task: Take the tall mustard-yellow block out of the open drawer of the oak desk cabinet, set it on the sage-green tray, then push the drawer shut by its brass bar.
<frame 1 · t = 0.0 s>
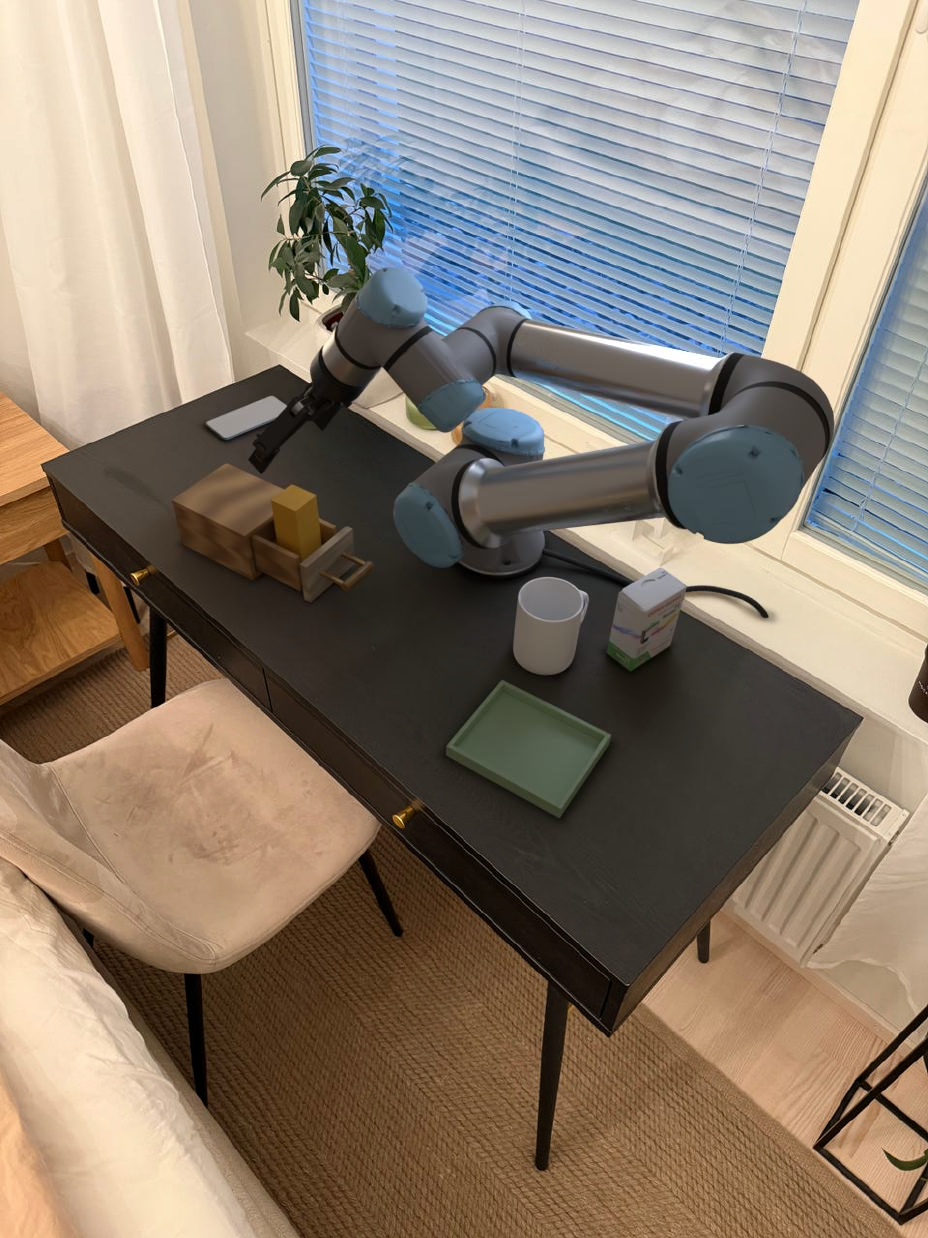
hand: (287, 443, 132), 15 cm above the table, tool tilted 35°, fingers open, 13 cm apart
cabinet: (243, 542, 139), on the table
tray: (528, 750, 113), on the table
block: (302, 561, 133), point 2 cm above the table, touching drawer
mug: (552, 650, 125), on the table
ink box: (638, 650, 126), on the table
smartphone: (250, 419, 164), on the table
drawer: (310, 555, 131), point 4 cm above the table, slide at 9.5 cm, touching block
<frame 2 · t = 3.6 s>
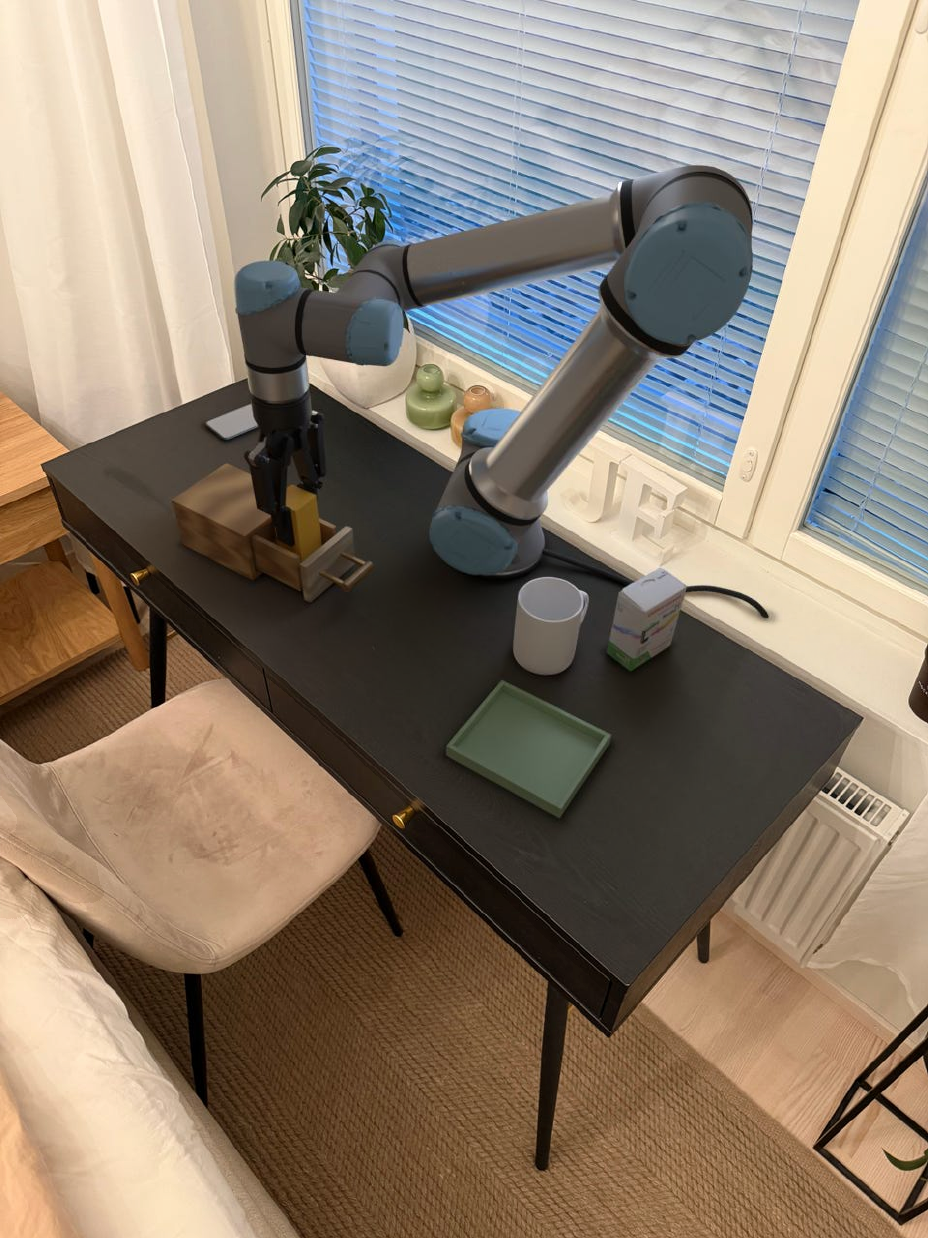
hand: (298, 532, 129), 8 cm above the table, tool pointing down, fingers closed on block, 4 cm apart
block: (302, 561, 133), point 2 cm above the table, touching drawer, gripper
everything else where it was.
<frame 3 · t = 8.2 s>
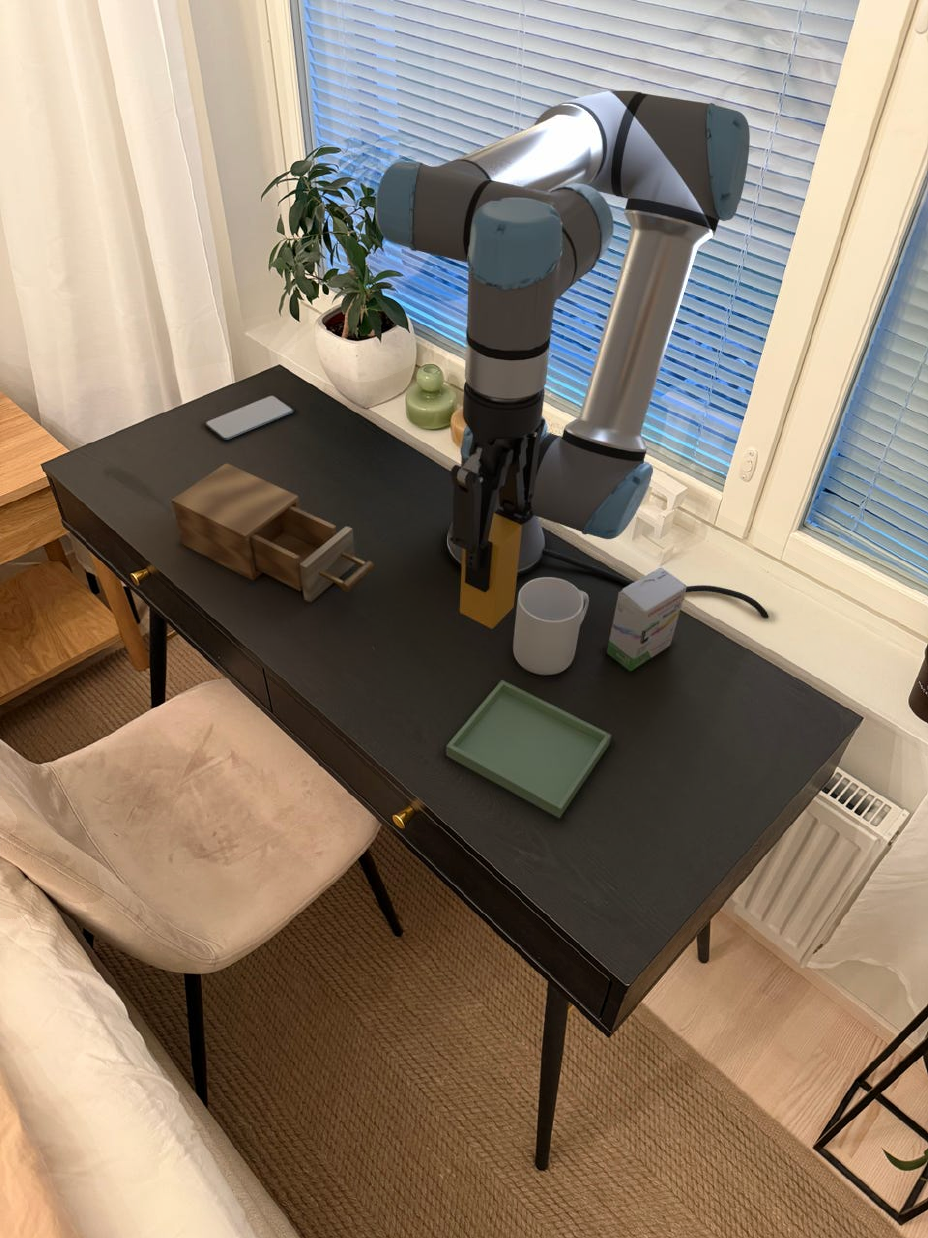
hand: (490, 572, 99), 25 cm above the table, tool pointing down, fingers closed on block, 4 cm apart
block: (486, 609, 103), point 19 cm above the table, touching gripper
drawer: (310, 555, 131), point 4 cm above the table, slide at 9.5 cm
everything else where it was.
when the fingers open (6 cm above the table, at t = 13.2 s): block stays where it is, resting on tray.
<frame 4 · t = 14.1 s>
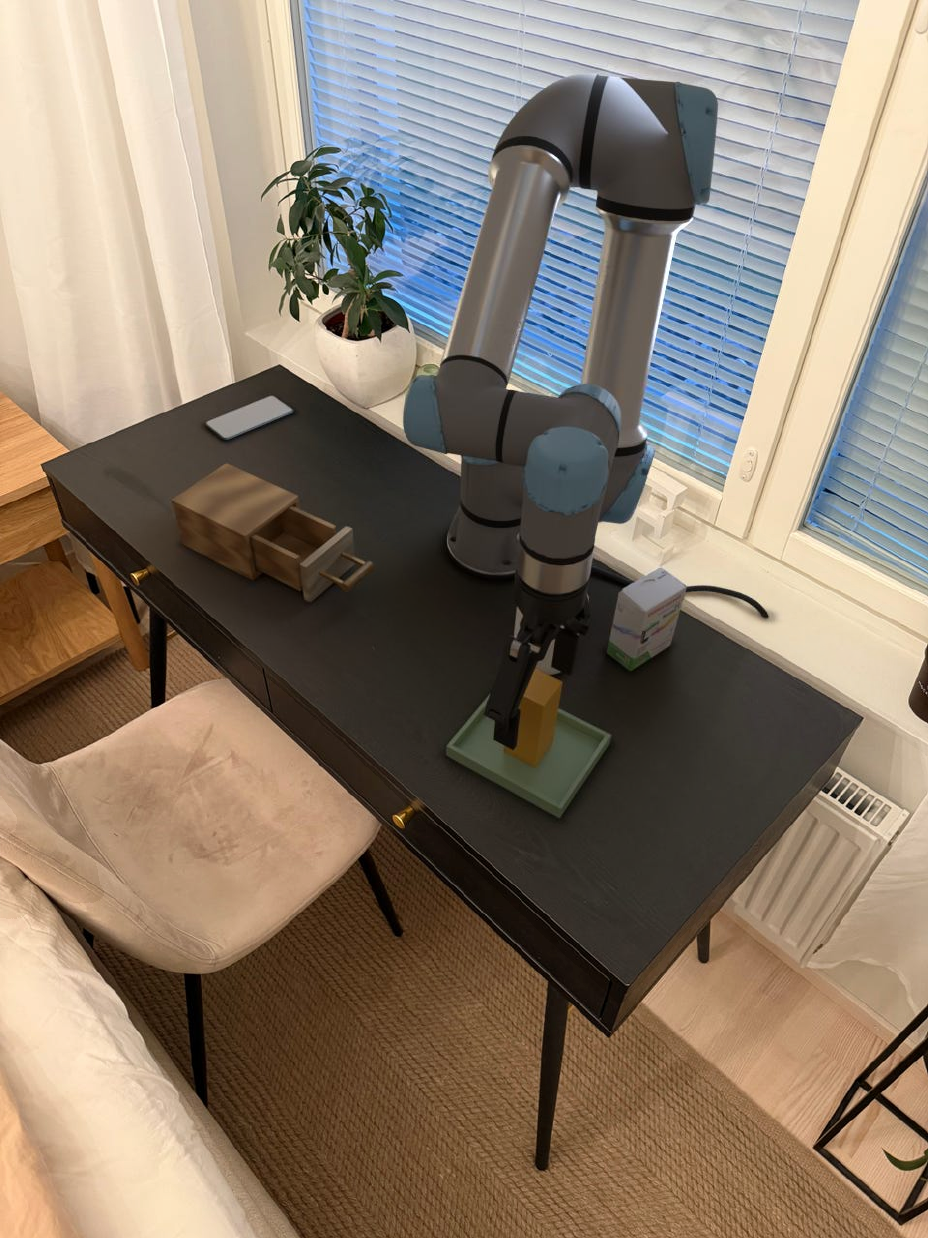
hand: (534, 705, 106), 9 cm above the table, tool pointing down, fingers open, 13 cm apart
block: (528, 748, 112), resting on tray
everything else where it was.
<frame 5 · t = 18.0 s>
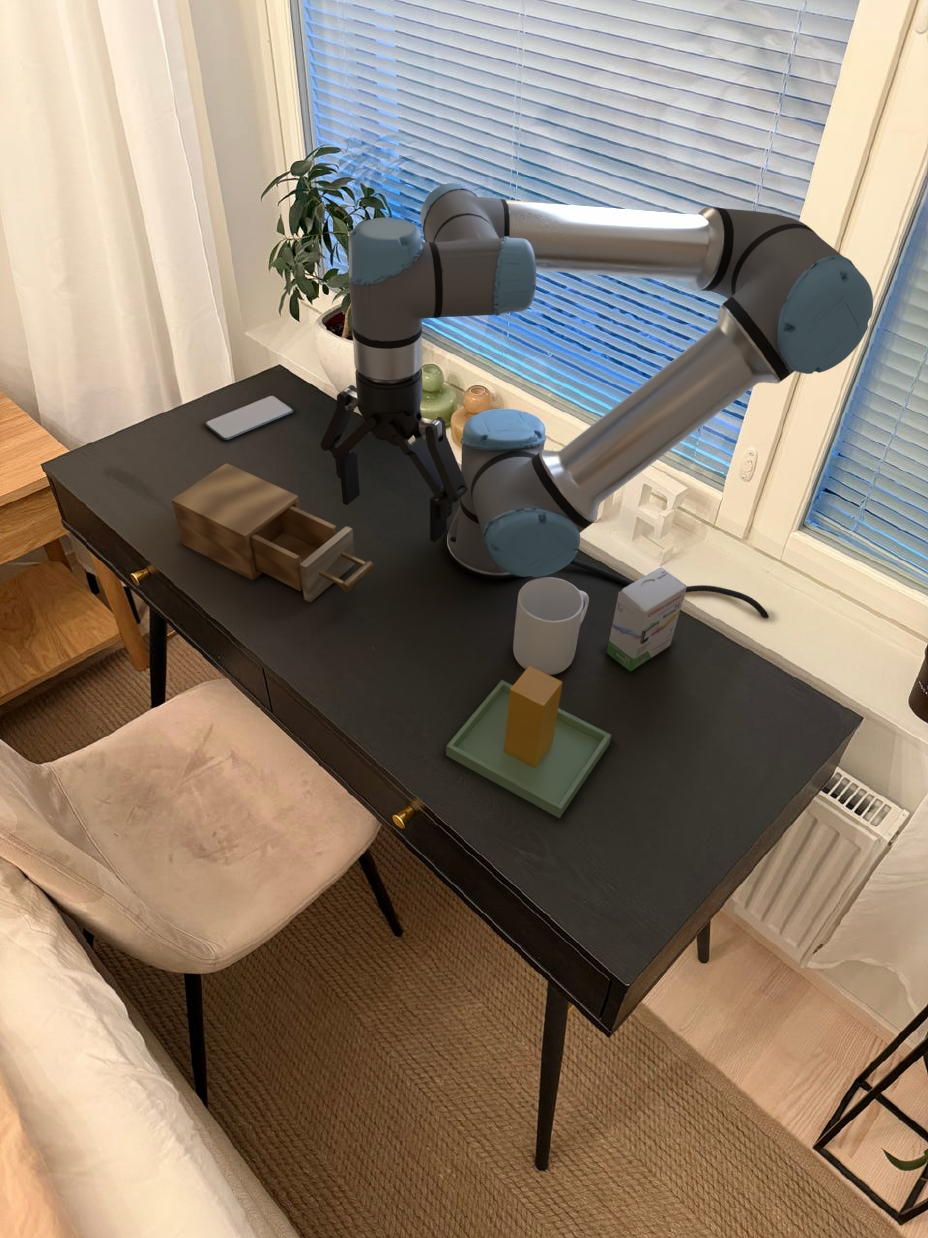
hand: (393, 517, 115), 19 cm above the table, tool pointing down, fingers open, 13 cm apart
nothing on the table moved.
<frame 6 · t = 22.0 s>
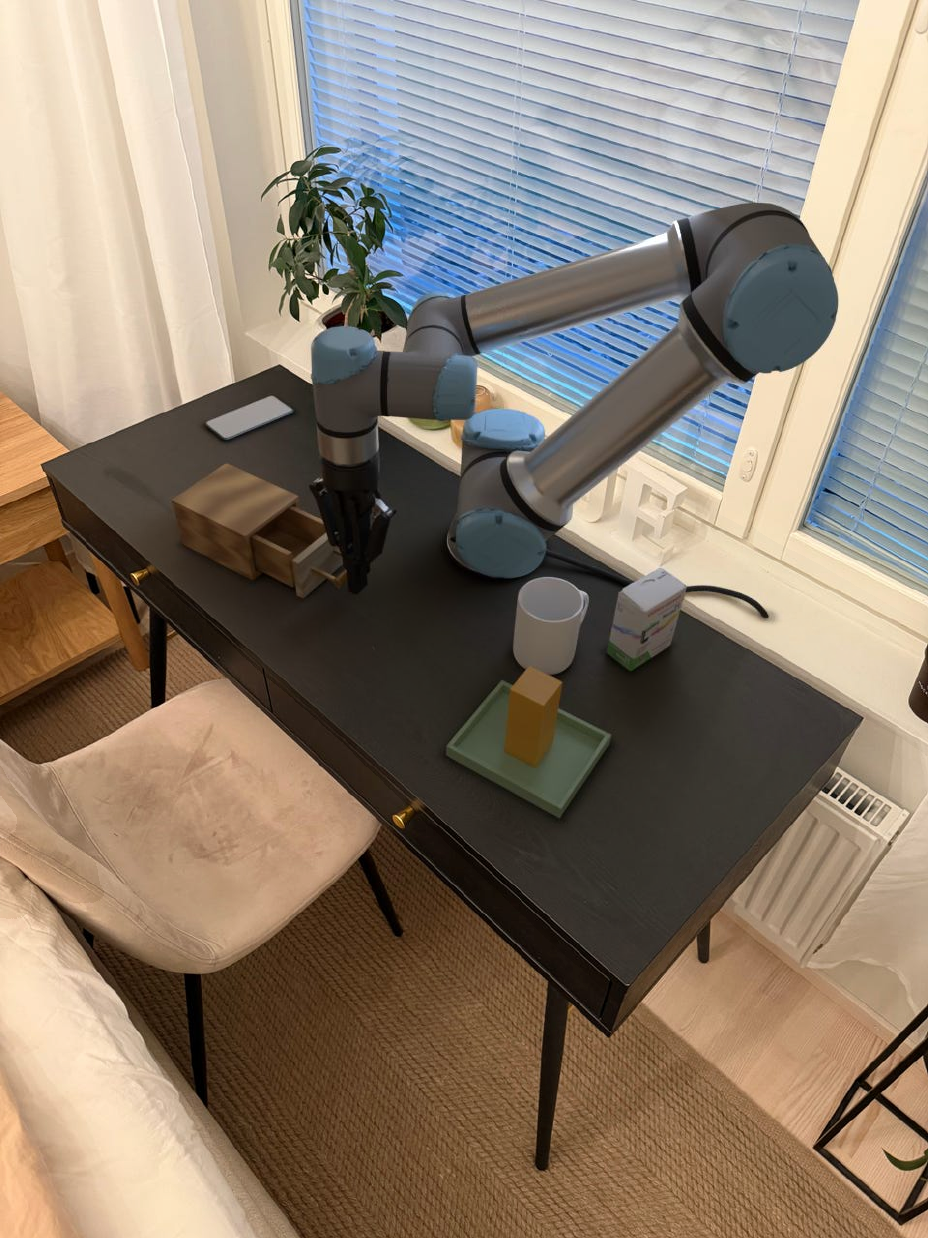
hand: (358, 587, 129), 2 cm above the table, tool pointing down, fingers closed
drawer: (302, 551, 132), point 4 cm above the table, slide at 8.1 cm, touching gripper
everything else where it was.
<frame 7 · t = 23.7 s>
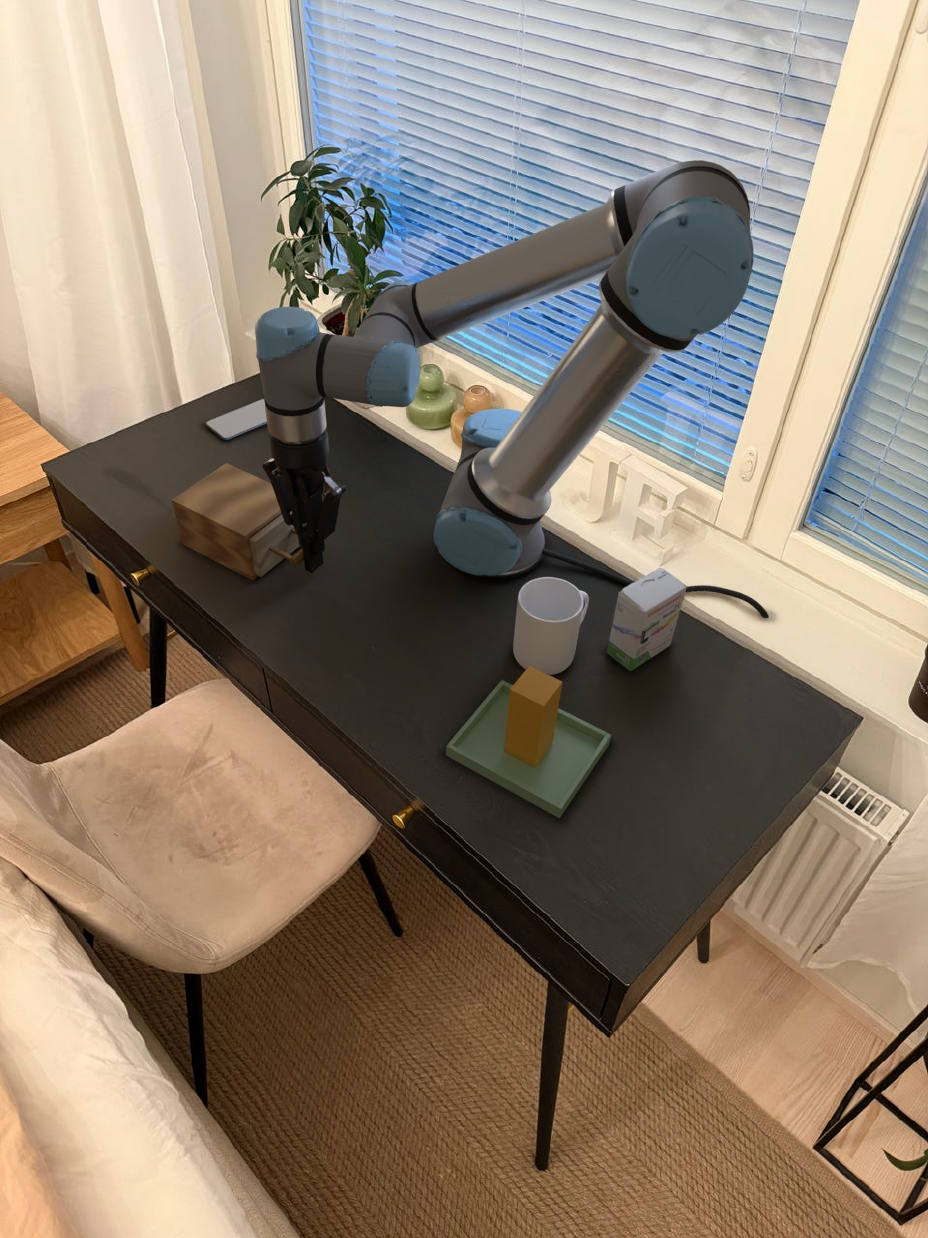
hand: (314, 566, 132), 2 cm above the table, tool pointing down, fingers closed
drawer: (261, 531, 135), point 4 cm above the table, slide at 0.0 cm, touching cabinet, gripper
everything else where it was.
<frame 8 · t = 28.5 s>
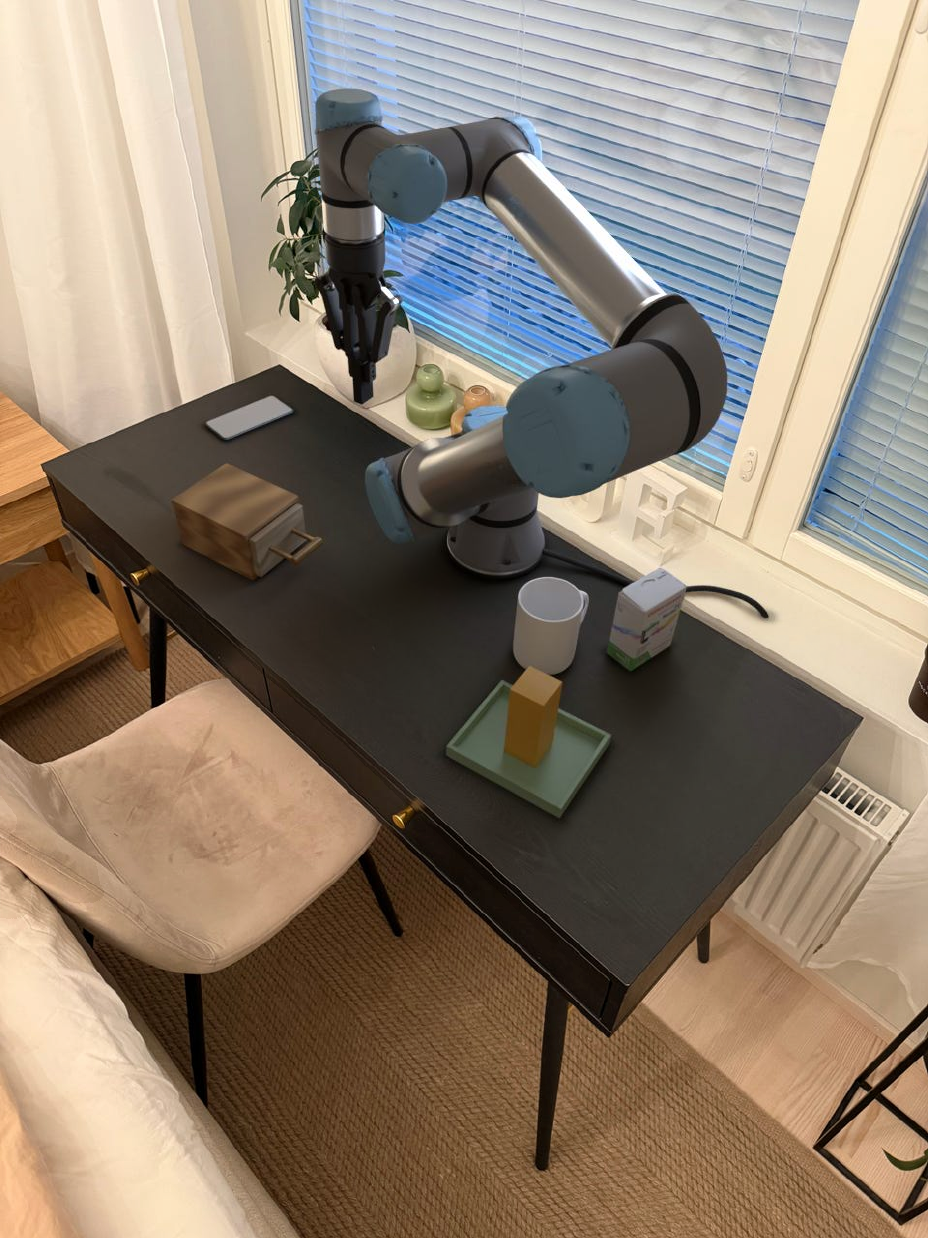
hand: (363, 398, 128), 22 cm above the table, tool pointing down, fingers closed
drawer: (261, 531, 135), point 4 cm above the table, slide at 0.0 cm, touching cabinet
everything else where it was.
at the end: block inside the target area in the tray (0.1 cm from its centre), point 0.5 cm above the tray's base; block tilted 0°; drawer slide at 0.0 cm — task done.
